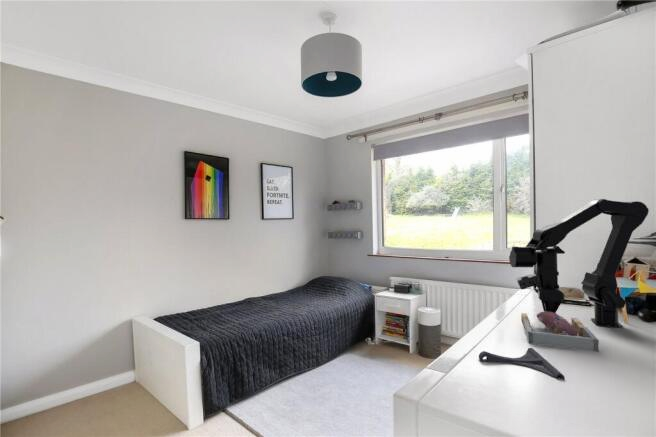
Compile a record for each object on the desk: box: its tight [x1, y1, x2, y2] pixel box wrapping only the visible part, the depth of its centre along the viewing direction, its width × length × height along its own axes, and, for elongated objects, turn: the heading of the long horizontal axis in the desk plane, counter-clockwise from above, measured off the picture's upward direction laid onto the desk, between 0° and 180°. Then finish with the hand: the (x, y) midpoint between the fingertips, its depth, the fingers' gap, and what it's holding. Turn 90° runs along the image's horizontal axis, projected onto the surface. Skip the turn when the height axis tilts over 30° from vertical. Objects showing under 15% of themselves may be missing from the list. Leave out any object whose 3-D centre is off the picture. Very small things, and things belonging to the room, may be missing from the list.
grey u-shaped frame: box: [524, 321, 599, 353], centre depth 90 cm, size 10×15×3 cm
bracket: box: [478, 347, 566, 380], centre depth 77 cm, size 14×15×3 cm
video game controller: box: [536, 310, 579, 336], centre depth 96 cm, size 10×5×7 cm, turn 7°
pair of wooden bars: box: [520, 312, 586, 337], centre depth 99 cm, size 10×15×2 cm, turn 64°
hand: (547, 315), depth 105 cm, fingers open, 8 cm apart
